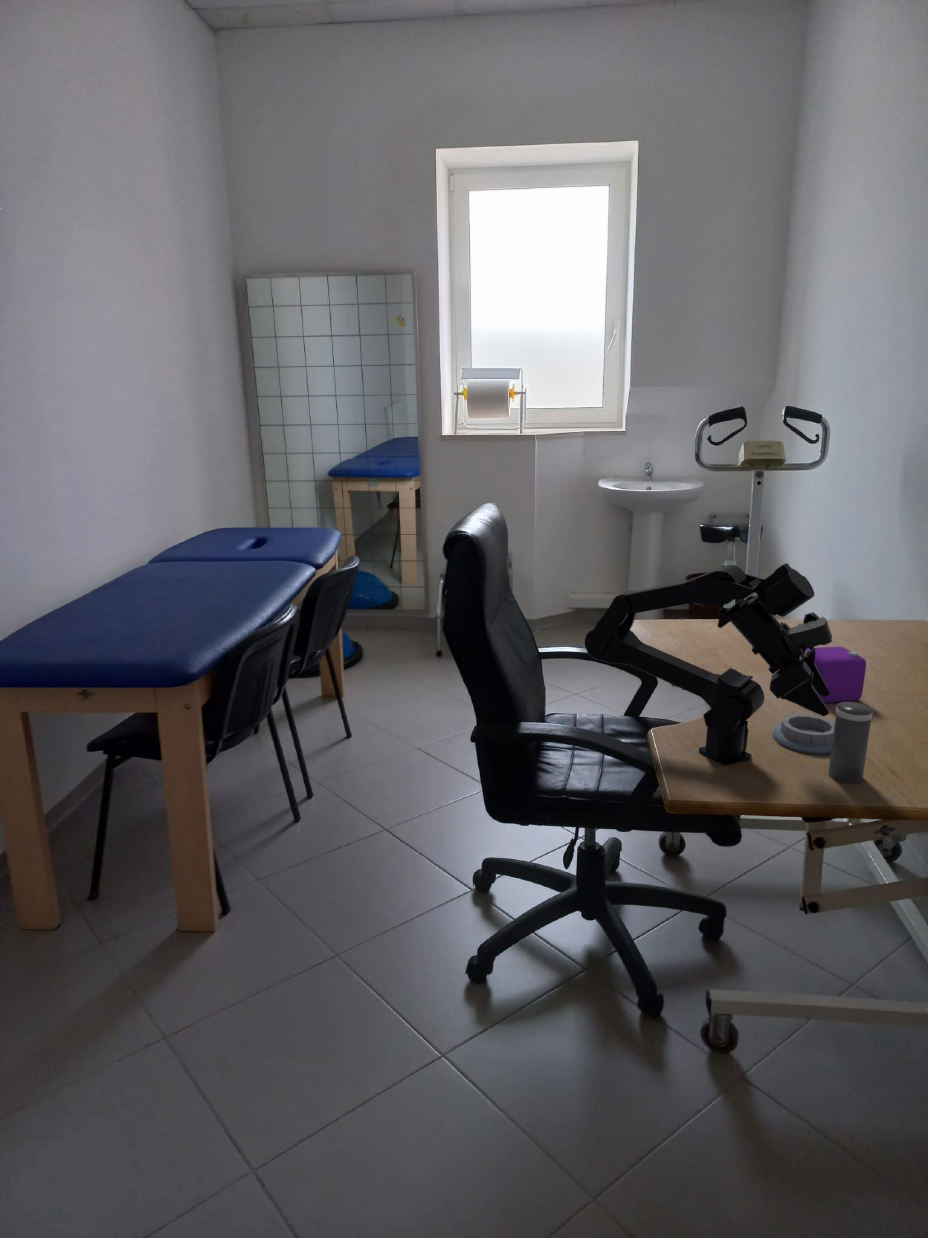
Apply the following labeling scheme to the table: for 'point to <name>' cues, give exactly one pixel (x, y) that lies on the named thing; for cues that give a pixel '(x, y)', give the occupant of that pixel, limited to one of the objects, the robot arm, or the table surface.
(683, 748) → the table surface
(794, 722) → the ring
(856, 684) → the toy camera
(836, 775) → the grey domed cylinder
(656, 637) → the table surface
